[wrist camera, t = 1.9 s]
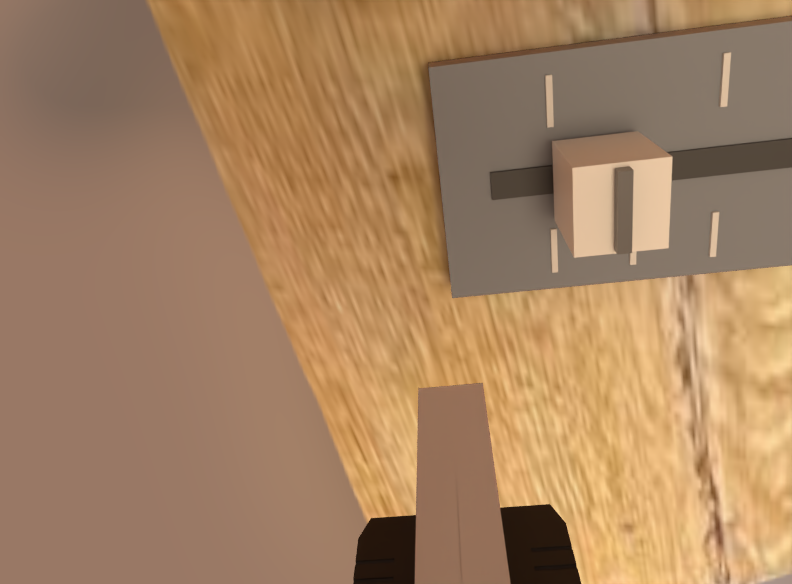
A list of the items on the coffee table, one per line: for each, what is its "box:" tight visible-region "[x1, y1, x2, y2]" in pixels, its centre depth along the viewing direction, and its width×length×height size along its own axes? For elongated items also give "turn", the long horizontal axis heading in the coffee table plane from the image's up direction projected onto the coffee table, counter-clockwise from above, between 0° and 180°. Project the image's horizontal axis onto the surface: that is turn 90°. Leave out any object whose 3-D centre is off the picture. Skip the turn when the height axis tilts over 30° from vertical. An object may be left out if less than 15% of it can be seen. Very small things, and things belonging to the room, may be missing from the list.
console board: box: [428, 16, 792, 298], centre depth 34 cm, size 12×27×2 cm, turn 97°
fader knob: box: [552, 131, 672, 258], centre depth 30 cm, size 4×4×6 cm
